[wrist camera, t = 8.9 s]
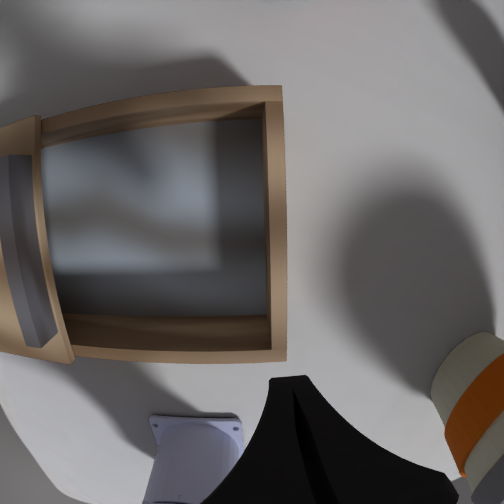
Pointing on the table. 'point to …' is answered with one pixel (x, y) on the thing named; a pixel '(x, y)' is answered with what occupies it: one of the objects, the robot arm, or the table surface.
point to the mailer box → (170, 226)
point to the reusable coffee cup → (474, 413)
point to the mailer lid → (27, 252)
